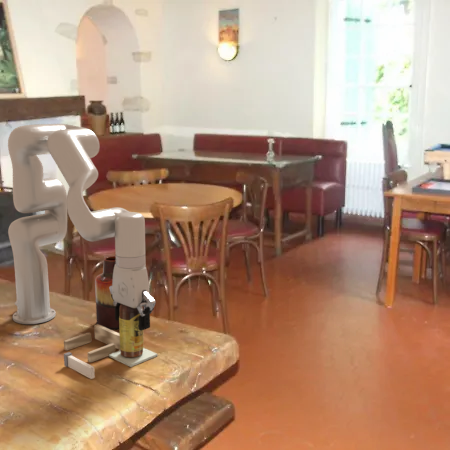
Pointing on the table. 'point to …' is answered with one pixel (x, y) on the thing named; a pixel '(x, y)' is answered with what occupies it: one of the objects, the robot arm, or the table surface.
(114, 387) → the table surface
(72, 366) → the bar
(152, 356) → the tile
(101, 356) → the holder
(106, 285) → the vase
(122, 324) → the sauce bottle
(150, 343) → the table surface
